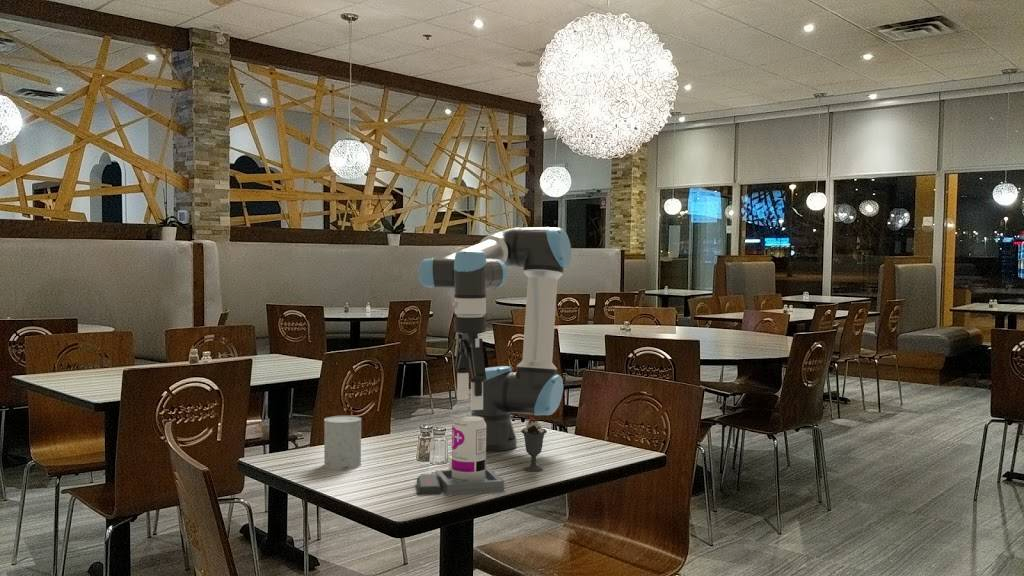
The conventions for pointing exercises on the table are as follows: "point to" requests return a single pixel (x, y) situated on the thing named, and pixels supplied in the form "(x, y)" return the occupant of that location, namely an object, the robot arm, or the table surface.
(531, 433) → the sundae
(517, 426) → the table surface
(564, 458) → the table surface
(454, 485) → the charging dock
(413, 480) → the table surface
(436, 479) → the dark grey rounded block
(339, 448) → the gray cylinder
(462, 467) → the supplement can
